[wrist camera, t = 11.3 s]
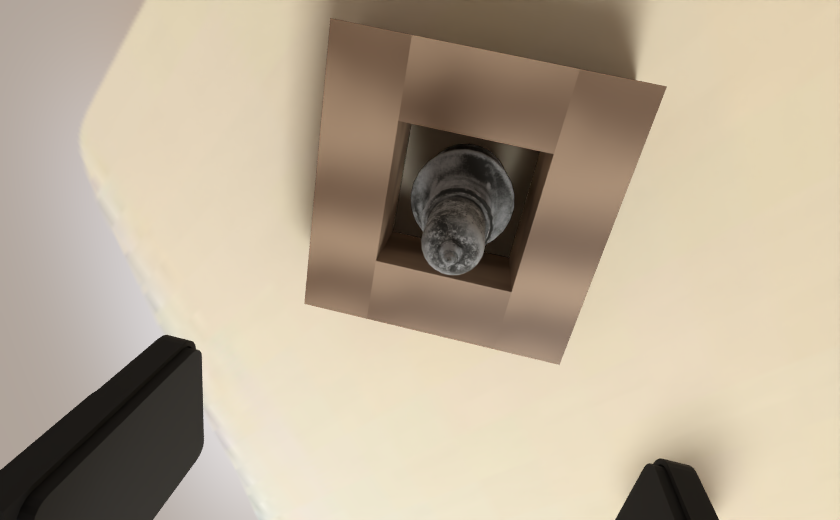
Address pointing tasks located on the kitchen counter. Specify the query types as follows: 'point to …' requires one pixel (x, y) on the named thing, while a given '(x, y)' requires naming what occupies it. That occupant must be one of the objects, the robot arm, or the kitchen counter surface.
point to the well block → (482, 118)
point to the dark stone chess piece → (461, 206)
